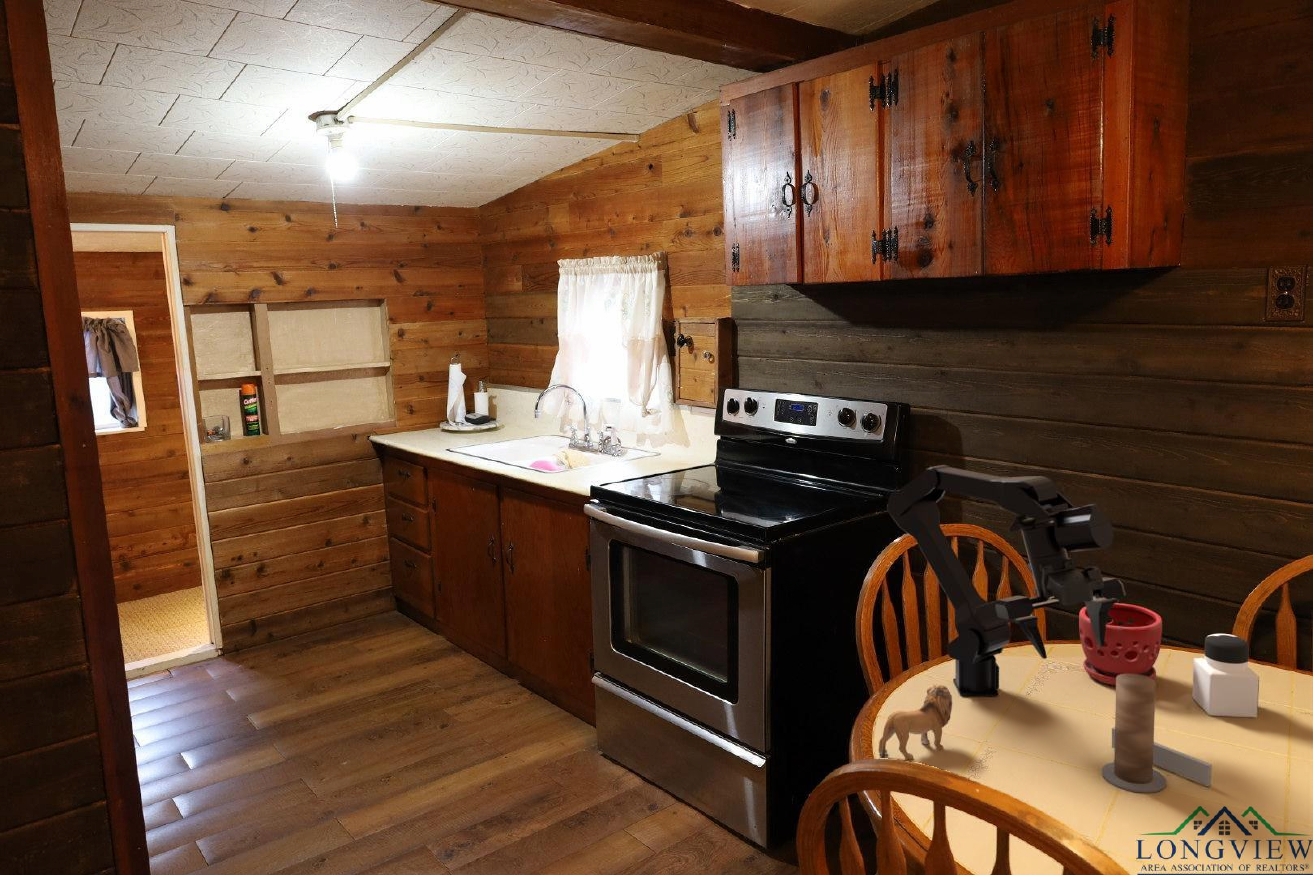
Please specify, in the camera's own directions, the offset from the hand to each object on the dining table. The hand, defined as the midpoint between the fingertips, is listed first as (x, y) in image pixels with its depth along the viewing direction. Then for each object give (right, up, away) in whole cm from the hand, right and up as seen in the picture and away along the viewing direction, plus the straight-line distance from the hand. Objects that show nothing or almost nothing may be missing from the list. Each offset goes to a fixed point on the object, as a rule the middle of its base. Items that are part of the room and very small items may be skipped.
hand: (1072, 652), depth 140 cm
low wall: (+7, -13, -12) cm, 19 cm away
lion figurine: (-26, -14, -4) cm, 30 cm away
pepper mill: (+1, -14, -15) cm, 20 cm away
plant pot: (+17, -9, +19) cm, 27 cm away
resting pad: (+1, -14, -15) cm, 21 cm away
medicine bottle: (+27, -11, +5) cm, 30 cm away
